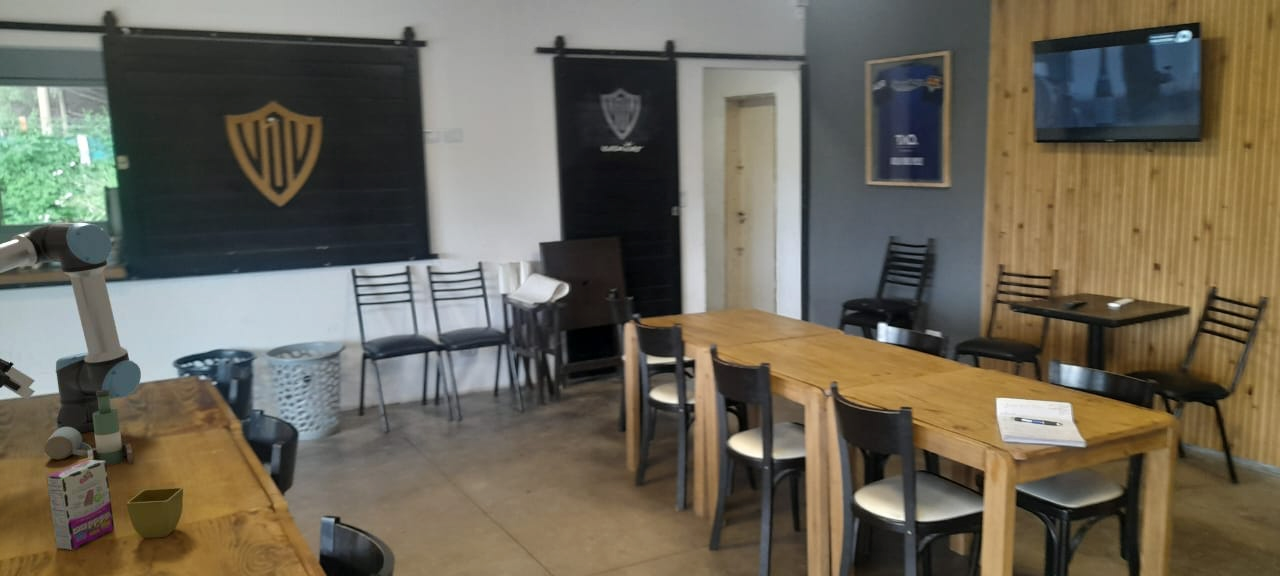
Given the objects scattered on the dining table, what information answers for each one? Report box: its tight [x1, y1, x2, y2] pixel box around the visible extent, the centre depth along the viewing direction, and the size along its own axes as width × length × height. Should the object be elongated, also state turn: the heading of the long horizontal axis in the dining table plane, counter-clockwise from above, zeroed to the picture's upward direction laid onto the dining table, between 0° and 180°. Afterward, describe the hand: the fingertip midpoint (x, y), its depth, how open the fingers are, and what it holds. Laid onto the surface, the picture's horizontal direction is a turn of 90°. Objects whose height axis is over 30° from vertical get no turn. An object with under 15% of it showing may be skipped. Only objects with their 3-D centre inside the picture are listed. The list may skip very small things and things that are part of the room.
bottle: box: [93, 390, 124, 466], centre depth 253 cm, size 6×6×20 cm
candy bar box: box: [46, 459, 115, 551], centre depth 201 cm, size 11×5×16 cm, turn 164°
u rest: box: [87, 442, 134, 465], centre depth 255 cm, size 10×10×3 cm
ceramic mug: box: [44, 427, 93, 461], centre depth 260 cm, size 11×8×8 cm
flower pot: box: [126, 487, 184, 539], centre depth 204 cm, size 9×9×9 cm
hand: (31, 389), depth 246 cm, fingers open, 13 cm apart
